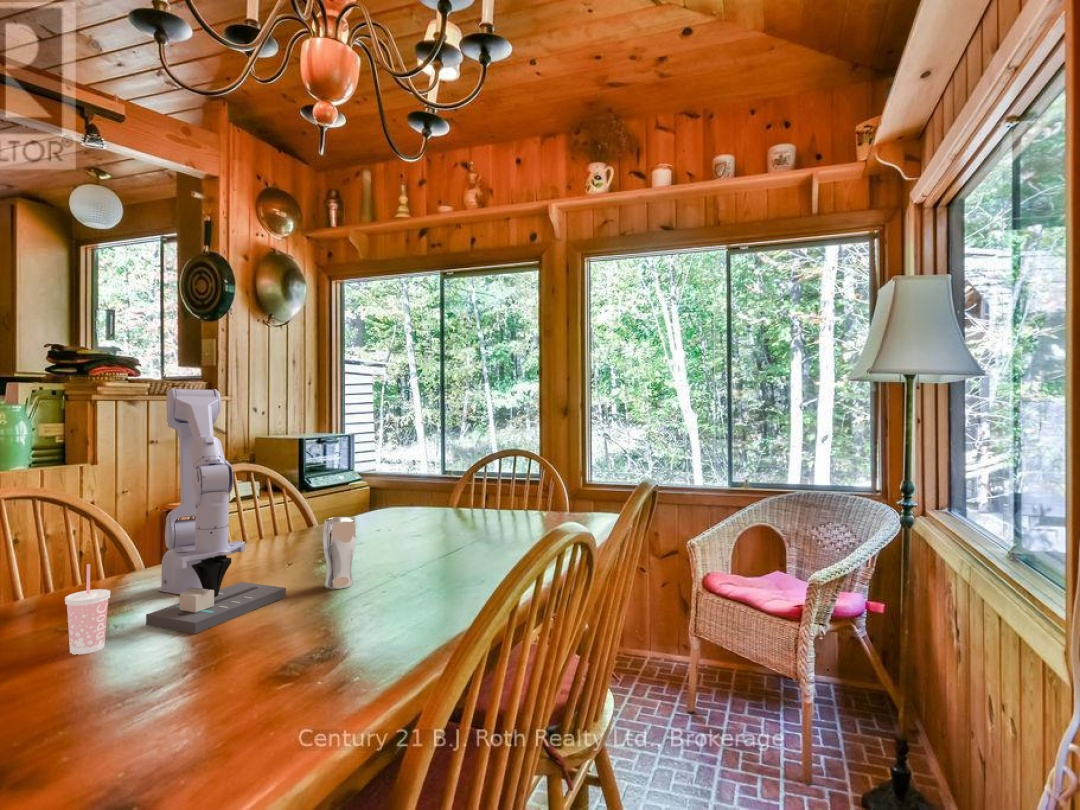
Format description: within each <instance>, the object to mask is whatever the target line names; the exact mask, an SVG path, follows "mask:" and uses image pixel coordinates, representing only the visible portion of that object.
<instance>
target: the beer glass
mask: <svg viewBox="0 0 1080 810" xmlns="http://www.w3.org/2000/svg"><path fill="white" fill-rule="evenodd" d="M356 536H357V533H356V520H355V517H352V516H334V517H333V516H332V517H328V518H326V519H325V518H324V525H323V538H322V541H323V544H322V545H323V552H324V558H325V563H326V576H325V582H324V588H326V589H328V588H329V590H344V589H348V588H350V586H351V587H352V586H353V585H354V580H353V575H352V566H353V565H352V564H353V560H354V559H353V558H354V555H355V549H356V540H357V539H356ZM343 588H344V589H343Z"/></svg>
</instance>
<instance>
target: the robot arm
mask: <svg viewBox="0 0 1080 810" xmlns="http://www.w3.org/2000/svg"><path fill="white" fill-rule="evenodd" d="M165 401H166V407H165V408H166V422H167V426H168V428H171V429H173V430H176V434H177V438H178V443H179V446H178V451H179V485H180V486H179V489H180V492H179V494H180V495H179V496H180V503H179V504H178V506H176V507H174V508H173V509H172V510H170V511H169V512H168V513H167V516H166V518H165V528H164V540H165V541H164V542H165V547H166V548H167V549H168V550H167V551H166V552H165V553H164V554H163V557H162V560H161V581H160V582H161V584H160V585H161V586H160V587H158V588H157V591H158V592H164V593H169V594H176V595H180V594H181V593H184V592H187V588H189V587H194V588H203V589H209V590H214V597H217V596H218V593H219V590H220V589H221V586H222V583H223V579H224V576H225V575H226V573H227V570H228V569H229V567H230V566H231V564H232V557H227V556H228V555H233V554H235V553H243V552H245V551H246V541H240V540H237V541H232V542H229V535H230V534H229V533H230V532H229V530H230V529H229V525H230V524H229V523H230V522H229V519H230V516H229V515H230V494H231V493H232V491H233V487H234V472H233V467H232V464H231V463H230V462H229V460H226V459H225V457H226V456H225V453H224V449H223V445H222V442H221V440H220V439H219V438H217V437H215V436H214V435H215V434H214V426H215V423H216V422H217V420H218V417H219V415H220V413H221V406H222V398H221V393H220V392H219V391H218V390H217V389H215V388H213V389H197V388H196V389H189V388H188V389H187V388H173V387H171V388H170V389H168V391H167V393H166V400H165ZM193 517H194V518H193ZM180 518H181V519H180ZM182 518H186V519H182Z"/></svg>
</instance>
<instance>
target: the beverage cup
mask: <svg viewBox="0 0 1080 810" xmlns="http://www.w3.org/2000/svg"><path fill="white" fill-rule="evenodd" d="M85 589H86V590H82V591H78V592H73V593H71V594H68V595H67V596H65V597H64V602H65V603H64V604H65V605H66V612H67V623H68V624H67V625H68V626H67V627H68V640H69V642H68V643H69V654H71V653H72V654H71V655H76V654H78V655H86V654H91V653H95V652H97V651H100V650H102V649H103V648H105V643H106V642H105V641H106V632H107V631H106V630H107V618H108V608H109V607H108V605H109V599H110V598H111V590H110V589H104V588H98V589H91V564H90V563H88V564H86V588H85Z"/></svg>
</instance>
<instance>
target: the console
mask: <svg viewBox="0 0 1080 810" xmlns="http://www.w3.org/2000/svg"><path fill="white" fill-rule="evenodd" d="M284 597H285V598H287V587H284V586H283V587H282V586H275V585H268V584H267V585H266V584H262V583H252V582H245V581H240V582H238V583H234V584H231V585H229V586H225V587H223V588H220V590H219V593H218V596H217V597H214V606H212V607H210V608H207V609H204V610H201V611H199V612H196V613H195V612H189V611H183V610H180V602H178V603H175V604H173V605H171V606H170V605H169V606H167V607H163V608H161V609H158V610H155V611H153V612H150V613H147V614H145V616H146V617H145V626H147V625H149V626H148V627H154V628H158V627H160V628H159V629H165V630H169V629H170V631H177V632H180V631H181V632H180V633H187V634H192V635H197V634H199V633H201V631H202V632H204V631H207V630H209V629H211V628H210V627H212V628H214V627H216V626H215V625H217V626H218V624H219V625H221V624H224V623H226V622H229V621H231V620H233V618H234V619H236V618H238V616H239V617H241V616H244V615H246V614H248V613H250V611H251V612H253V611H255V609H256V610H258V609H261V608H263V607H265V605H266V606H267V604H268V605H270V603H271V604H273V603H275V602H274V601H276V602H278V601H280V600H283V599H285V598H284ZM282 598H283V599H282ZM279 599H280V600H279ZM277 600H278V601H277ZM272 602H273V603H272ZM262 606H263V607H262ZM260 607H261V608H260ZM245 613H246V614H245ZM243 614H244V615H243ZM235 617H236V618H235ZM230 619H231V620H230ZM228 620H229V621H228ZM225 621H226V622H225ZM223 622H224V623H223ZM220 623H221V624H220ZM213 626H214V627H213ZM208 628H209V629H208ZM206 629H207V630H206ZM203 630H204V631H203ZM198 632H199V633H198ZM196 633H197V634H196Z"/></svg>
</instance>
